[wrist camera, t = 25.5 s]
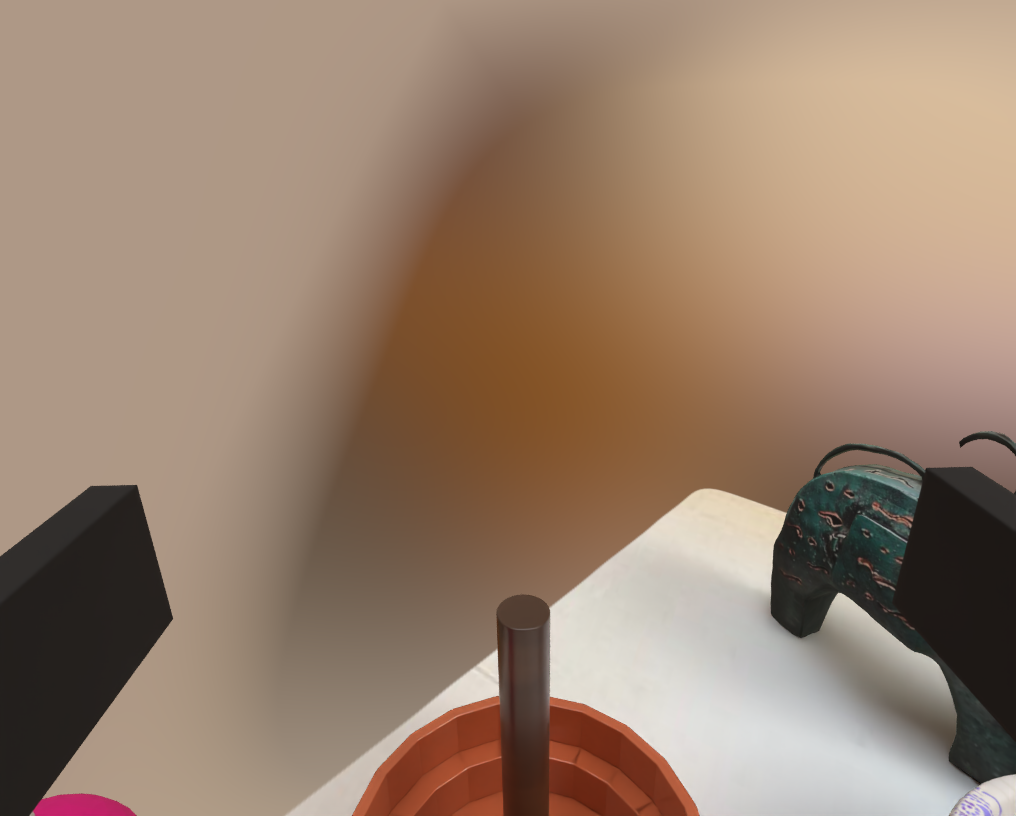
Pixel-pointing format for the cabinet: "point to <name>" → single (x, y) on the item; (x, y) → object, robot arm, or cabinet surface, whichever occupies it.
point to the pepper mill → (80, 806)
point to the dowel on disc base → (524, 704)
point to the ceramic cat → (873, 578)
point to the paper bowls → (989, 799)
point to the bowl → (572, 768)
